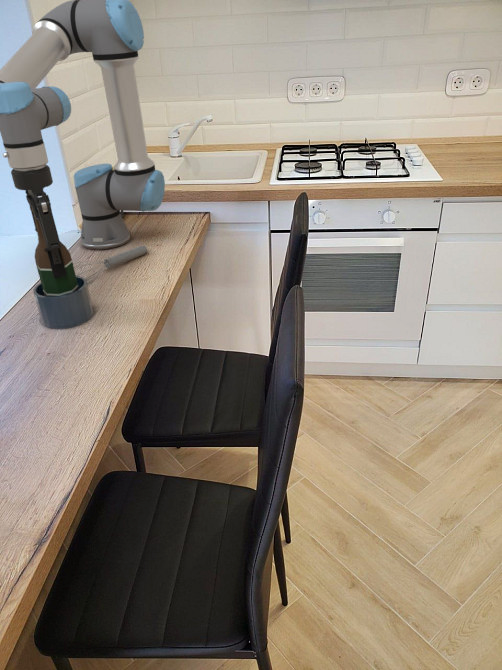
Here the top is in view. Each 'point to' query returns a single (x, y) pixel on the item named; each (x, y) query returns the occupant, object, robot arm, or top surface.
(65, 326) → the metal cup
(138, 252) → the kitchen whisk
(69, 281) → the beer bottle
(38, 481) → the top surface
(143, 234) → the top surface
